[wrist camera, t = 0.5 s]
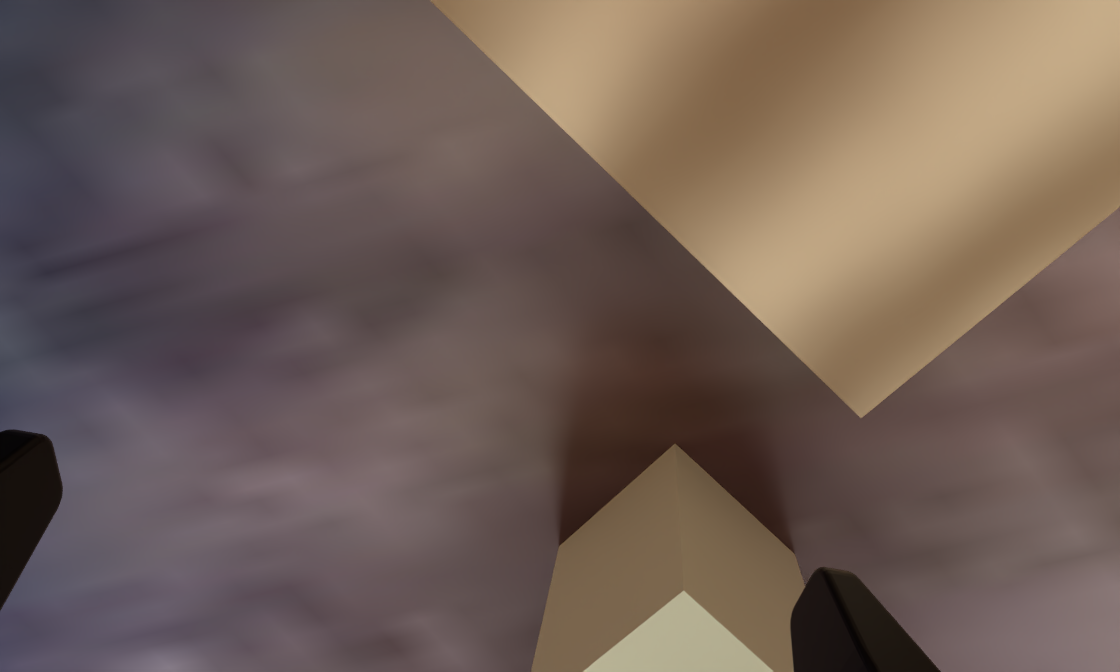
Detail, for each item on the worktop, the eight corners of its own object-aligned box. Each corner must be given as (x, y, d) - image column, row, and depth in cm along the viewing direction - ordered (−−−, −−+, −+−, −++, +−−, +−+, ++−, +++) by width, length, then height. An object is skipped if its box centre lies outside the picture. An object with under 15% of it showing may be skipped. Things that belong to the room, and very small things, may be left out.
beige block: (794, 553, 22) (854, 744, 15) (674, 647, 24) (681, 858, 17) (675, 443, 22) (683, 590, 15) (559, 546, 23) (520, 721, 16)
